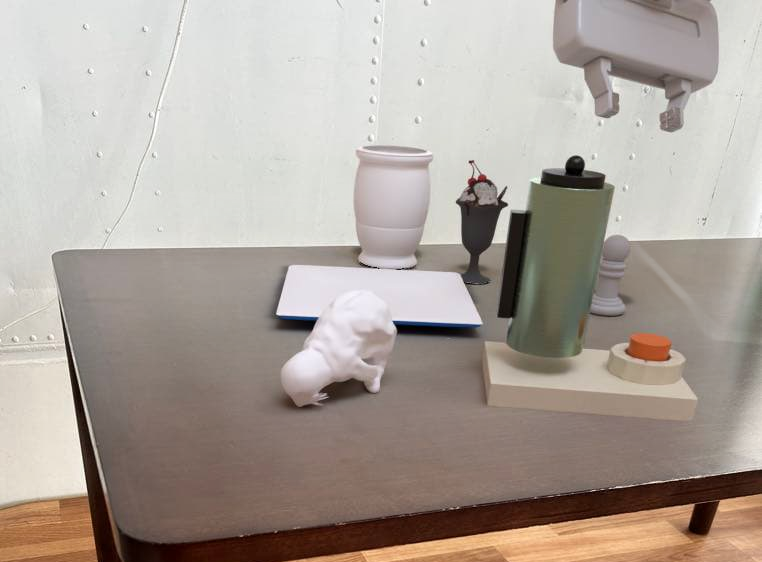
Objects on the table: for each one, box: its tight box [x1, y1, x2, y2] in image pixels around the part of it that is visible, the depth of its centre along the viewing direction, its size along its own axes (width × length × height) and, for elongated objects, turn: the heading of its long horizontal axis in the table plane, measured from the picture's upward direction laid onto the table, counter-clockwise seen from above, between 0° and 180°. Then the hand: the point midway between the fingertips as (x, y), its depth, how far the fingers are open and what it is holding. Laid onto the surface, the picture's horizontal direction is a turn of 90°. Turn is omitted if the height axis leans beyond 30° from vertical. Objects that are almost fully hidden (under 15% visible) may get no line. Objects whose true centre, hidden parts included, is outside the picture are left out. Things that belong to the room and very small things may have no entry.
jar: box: [353, 144, 435, 270], centre depth 114 cm, size 11×10×15 cm
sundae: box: [455, 159, 509, 283], centre depth 108 cm, size 7×7×15 cm
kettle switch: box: [627, 332, 673, 362], centre depth 75 cm, size 4×4×2 cm
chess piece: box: [590, 234, 631, 317], centre depth 99 cm, size 5×5×9 cm
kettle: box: [496, 154, 616, 358], centre depth 73 cm, size 8×10×16 cm
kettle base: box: [481, 340, 699, 423], centre depth 76 cm, size 18×12×4 cm, turn 85°
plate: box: [275, 264, 484, 328], centre depth 98 cm, size 22×22×2 cm
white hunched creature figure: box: [280, 290, 398, 408], centre depth 72 cm, size 6×8×12 cm
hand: (640, 122), depth 81 cm, fingers open, 8 cm apart
